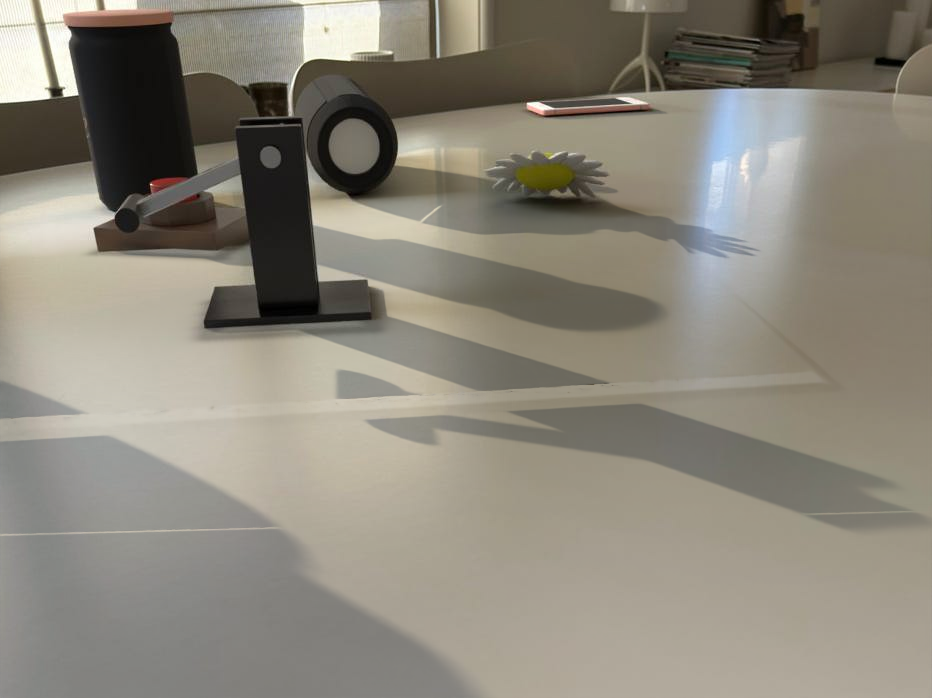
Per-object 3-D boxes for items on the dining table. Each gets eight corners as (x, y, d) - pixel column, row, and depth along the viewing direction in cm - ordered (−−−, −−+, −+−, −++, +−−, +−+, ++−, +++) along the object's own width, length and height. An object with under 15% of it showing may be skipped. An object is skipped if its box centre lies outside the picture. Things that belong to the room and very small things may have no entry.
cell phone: (650, 109, 169) (650, 103, 168) (543, 116, 165) (543, 109, 164) (628, 103, 176) (628, 96, 176) (525, 109, 172) (525, 102, 172)
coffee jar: (146, 192, 121) (114, 8, 111) (222, 199, 117) (195, 9, 107) (79, 211, 113) (37, 15, 103) (157, 219, 109) (122, 16, 99)
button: (145, 205, 97) (141, 185, 96) (165, 196, 100) (162, 176, 99) (185, 207, 96) (182, 186, 95) (204, 198, 100) (201, 178, 99)
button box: (97, 252, 98) (88, 206, 95) (149, 227, 106) (142, 184, 103) (218, 258, 95) (211, 211, 93) (261, 232, 103) (256, 188, 101)
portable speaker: (404, 196, 117) (398, 94, 111) (313, 201, 115) (303, 99, 109) (374, 157, 137) (368, 70, 132) (297, 161, 136) (288, 73, 130)
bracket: (205, 337, 76) (173, 134, 69) (216, 301, 84) (188, 115, 76) (372, 328, 77) (357, 128, 70) (368, 294, 85) (355, 110, 77)
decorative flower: (478, 186, 131) (484, 202, 104) (479, 143, 129) (486, 148, 102) (580, 190, 132) (612, 207, 105) (583, 147, 130) (617, 153, 103)
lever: (125, 242, 74) (106, 208, 73) (136, 226, 78) (118, 194, 77) (297, 165, 73) (281, 129, 71) (299, 153, 77) (284, 119, 75)
